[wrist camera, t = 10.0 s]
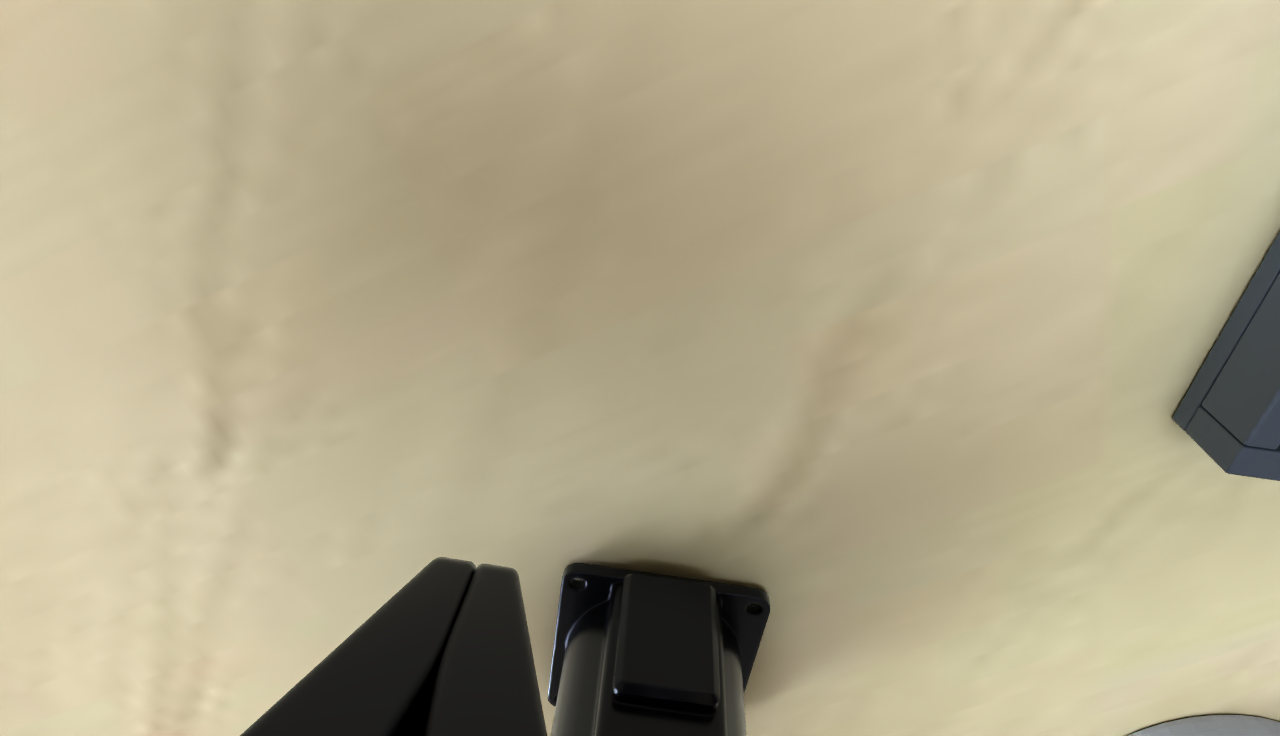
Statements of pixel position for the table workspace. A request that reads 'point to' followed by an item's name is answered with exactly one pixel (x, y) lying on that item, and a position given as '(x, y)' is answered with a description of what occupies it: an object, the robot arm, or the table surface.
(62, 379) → the table surface
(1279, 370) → the tray
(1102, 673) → the table surface
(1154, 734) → the glass holder
